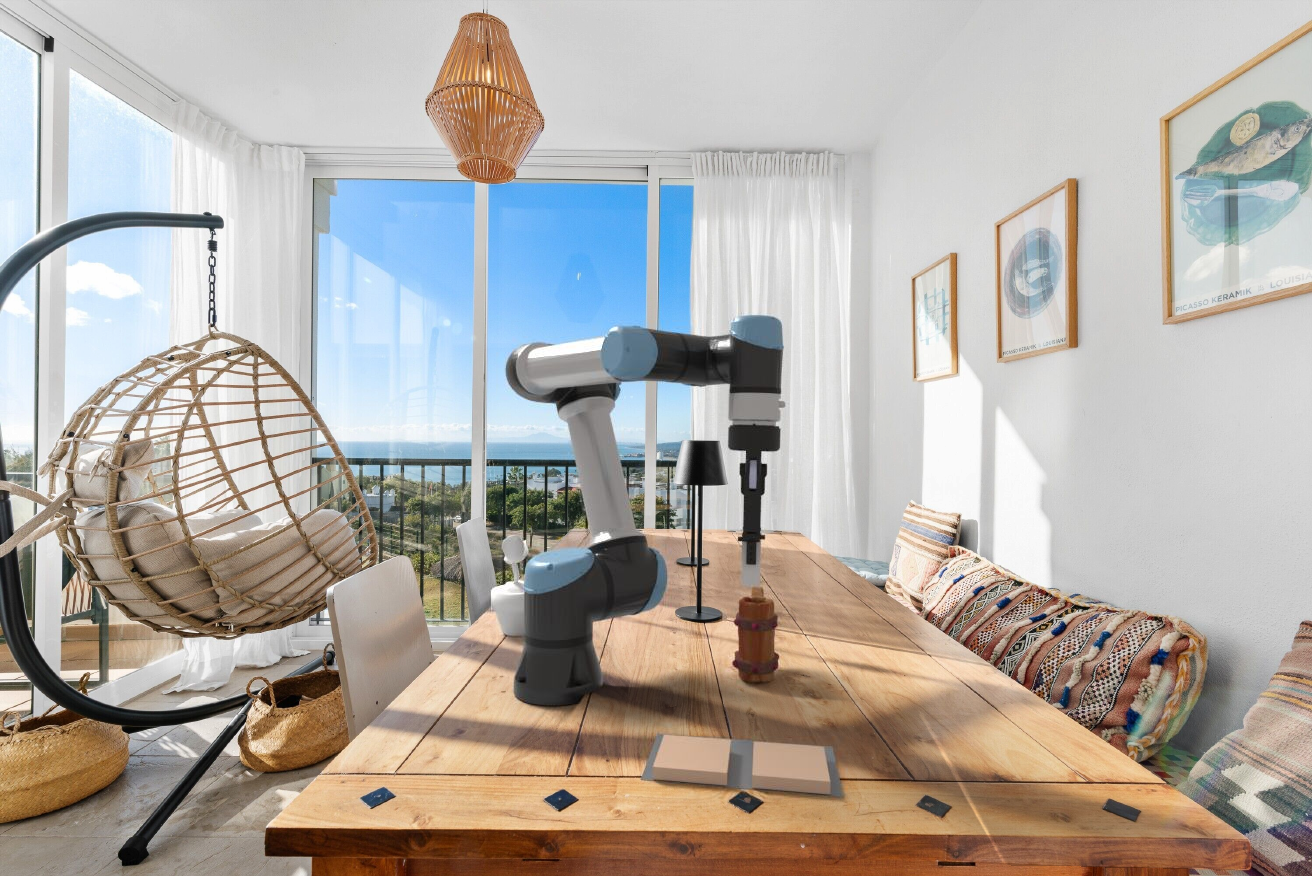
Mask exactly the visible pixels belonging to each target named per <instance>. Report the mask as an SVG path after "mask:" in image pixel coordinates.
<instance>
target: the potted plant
mask: <svg viewBox="0 0 1312 876" xmlns="http://www.w3.org/2000/svg"><path fill="white" fill-rule="evenodd" d="M530 530H531V531H530V534H531V535H532V534H533V528H532V527H531V529H530ZM537 542H538V543H537V544H538V545H537V546H538V547H539V545H540V543H539V539H538V541H537ZM501 550H502V552H503V554H504V558H503V561H504V562H505V563H506V564H507V565H511V570H512V574H513V581H506V583H505V584H503V585H498V586H495V587H492V589H491V590H490V609H491V610H493V611H494V612H495V615H496V618H497V620H498V624H499V627H500V629H501V632H502V633H503V634H505V635H506V636H508V637H524V588H523V584H524V580H520V571H519V566H518V564H517V563H521V562H522V561H524V559H526V557H527V556H528V555H529V553H530V551H529V548H528V545H527V539H525V540H523V539H522V537H521V536H520V535H519V534H513V535H508V536H507V537H506V538H504V539H503V540H502V542H501Z"/></svg>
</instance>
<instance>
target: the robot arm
mask: <svg viewBox="0 0 1312 876" xmlns="http://www.w3.org/2000/svg"><path fill="white" fill-rule="evenodd" d="M730 323H731V324H730V330H729V333H728V334H723V335H715V336H713V335H712V336H707V335H706V336H705V335H697V334H691V333H684V332H682V333H681V332H673V331H665V330H658V329H652V328H645V327H642V326H641V325H617V326H613V327H612V328H610V330H609V332H608V333H606V334H605V335H600V336H596V337H591V338H584V339H579V340H574V341H569V342H563V343H557V344H554V343H553V344H551V343H546V342H538V341H537V342H530V343H525V344H522V345H520V346H518V347H516V348H515V349H514V350H513V351H512V352H511V353H510V355H509V356H508V358H507V360H506V364H505V370H504V371H505V378H506V381H507V383H508V385H509V387H510V389H512V390H513V392H514V393H516V395H518V396H519V397H521V398H523V399H524V400H526V401H531V402H534V403H542V404H555V406H556V407H555V408H556V411H557V415H558V418H559V419H560V420H562V421H563V422H565V423H567V427H568V430H569V436H570V441H571V445H572V450H573V456H574V462H575V466H576V471H577V474H578V480H579V485H580V489H581V490H580V491H581V495H582V499H583V500H582V501H583V504H584V509H585V514H586V519H587V524H588V528H589V529H588V530H589V533H590V541H589V542H588V544H587V545H586V547H568V548H556V549H552V550H547V551H545V552H542V553H541V552H540V553H539V554H536V555H535V556H533V557H531V558H530V559H529V560H528V561H527V563H526V565H525V569H524V578H523V579H524V580H523V581H524V584H523V588H524V636H523V637H524V638H523V639H524V643H523V644H524V645H523V649H522V652H521V654H520V658H519V660H518V665H517V667H516V670H515V673H514V676H513V694H514V696H515V697H516V698H517V699H518V700H520V701H523V702H526V703H528V704H533V705H541V706H565V705H566V706H567V705H572V704H577V703H581V702H582V700H583V698H584V697H585V696H586V695H589V694H590V693H593V692H595V691H597V690H598V689H600V688H601V687H602V686H604V683H603V682H604V675H603V671H602V667H601V665H600V662H599V658H598V655H597V652H596V648H595V645H594V640H593V639H594V638H593V637H594V636H593V635H594V633H593V630H594V623H595V622H601V621H605V620H606V621H607V620H610V619H615V618H621V617H626V616H637V615H639V614H641V613H643V612H644V613H645V612H648V611H651V610H653V609H655V608H656V607H657V606H658V605H659V604H660V603H661V602H662V600H663V598H664V594H665V593H666V590H667V586H668V567H667V564H666V560H665V558H664V556H663V555H662V554H661V553H660V551H659V550H658V549H656V548H654V547H651V546H649V544H648V540H647V539H648V538H647V536H646V534H644V533H643V532H642V531H640V530H638V529H637V527H636V524H635V519H634V516H633V510H632V505H631V502H630V498H629V493H628V489H627V483H626V480H625V475H624V471H623V467H622V462H621V458H620V453H619V449H618V445H617V440H616V436H615V435H616V434H615V430H614V427H613V423H612V419H611V413H612V411H613V410H614V409H615V407H616V401H617V400H618V398H619V397H620V394H621V387H620V386H622V383H630V382H631V383H633V382H662V383H663V382H664V383H672V384H673V383H674V384H682V385H684V386H688V387H698V388H699V387H700V388H702V387H706V386H716V385H717V386H718V385H729V390H728V391H729V392H728V415H727V416H728V417H727V418H728V420H729V422H730V421H731V423H732V424H730V425H729V427H728V434H727V435H728V438H727V448H728V449H729V450H730V451H734V452H735V451H736V452H737V451H738V452H745V462H740V463H739V476H740V493H741V494H742V495H743V512H742V513H743V517H742V518H743V520H742V532H741V536H737V542H741V567H740V568H741V571H740V574H741V575H740V587H751V588H752V587H761V554H762V551H761V550H762V548H761V547H762V540H763V541H765V540H766V534H762V533H761V531H762V527H761V521H762V519H761V518H762V497H763V495H764V494H765V492H766V477H767V476H768V464H767V463H762V454H763V453H762V452H767V453H769V452H778V451H779V450H780V449H781V427H780V426H779V425H777V423H778V422H780V421H781V412H782V411H781V410H780V409H781V408H782V409H783V408H785V407H786V402H785V400H784V401H783V400H780V399H781V398H782V373H783V371H782V370H783V359H784V358H783V354H784V348H785V346H784V339H783V338H784V337H783V324H782V321H781V320H780V319H779V318H777V317H775V316H772V315H765V314H764V315H761V314H747V315H740V316H737V317H735V318H733V319H732V320H731V322H730Z"/></svg>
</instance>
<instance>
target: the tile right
mask: <svg viewBox="0 0 1312 876" xmlns="http://www.w3.org/2000/svg"><path fill="white" fill-rule="evenodd" d="M767 742H768V741H763V742H754V748H753V772H752V788H761V789H772V790H784V791H796V792H807V793H819V794H830V777H829V772H828V767H827V761H826V756H825V751H824V747H820V746H821V745H817V746H807V745H808V744H803V745H794V744H795V743H790V744H781V743H782V742H777V743H767Z"/></svg>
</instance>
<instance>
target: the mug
mask: <svg viewBox="0 0 1312 876" xmlns="http://www.w3.org/2000/svg"><path fill="white" fill-rule="evenodd" d="M750 593H751V595H750V596H743V597H742V598H741V599H738V600H739V601H738V611H737V613H736V615H735V619H734V620H733V624H734V625H735V626H736V627H737V636H738V638H737V639H738V650H736V651H735V652H734V660H732V662H731V663H732V667H733V668H736V669H737V670H738V671H737V674H738V675H737V676H738V677H739V678H740V680H742V681H744V682H748V683H753V684H755V683H757V684H759V683H760V684H761V683H767V682H769V681H770V682H771V681H772V680H773V679H774V677H775V671H777V670H778V668H779V660H780V654H779V653H777V652H776V651H775V639H776V638H775V636H776V635H775V634H776V630H775V629H776V628H778V618H779V616H778V615H777V614H776V613H775V602H774V600H773V599H771V598H766V597H765V596H764V595H765V593H764V588H763V587H762V586H760V587H751V592H750Z"/></svg>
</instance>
